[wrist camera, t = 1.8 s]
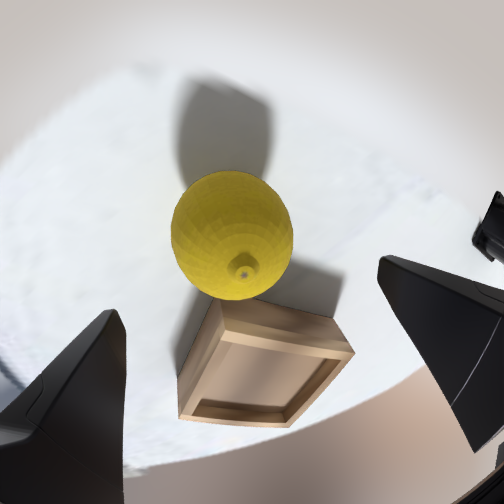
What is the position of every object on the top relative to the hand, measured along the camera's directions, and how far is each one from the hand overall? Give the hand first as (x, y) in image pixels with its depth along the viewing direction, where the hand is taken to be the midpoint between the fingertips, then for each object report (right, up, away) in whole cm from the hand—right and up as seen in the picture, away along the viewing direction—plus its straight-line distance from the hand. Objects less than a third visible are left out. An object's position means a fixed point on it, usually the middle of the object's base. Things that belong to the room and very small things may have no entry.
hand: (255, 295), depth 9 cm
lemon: (-2, +4, +8) cm, 9 cm away
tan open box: (0, -7, +14) cm, 16 cm away
